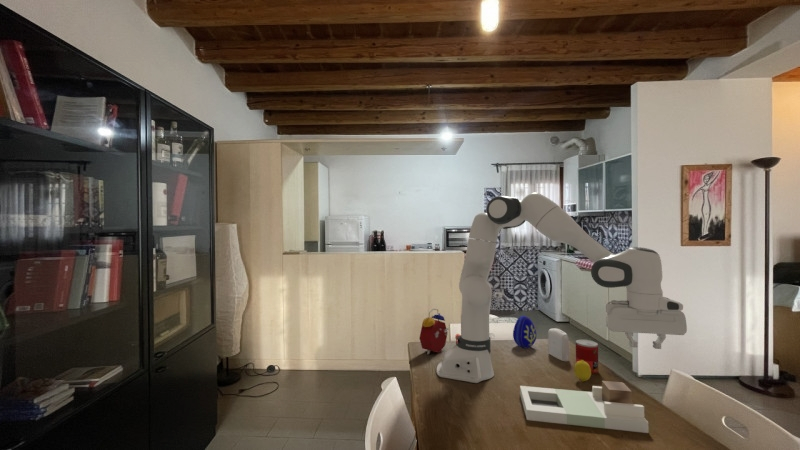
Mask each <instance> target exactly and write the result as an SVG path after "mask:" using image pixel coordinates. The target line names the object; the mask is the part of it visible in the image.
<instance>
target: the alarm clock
mask: <svg viewBox="0 0 800 450" xmlns="http://www.w3.org/2000/svg"><path fill="white" fill-rule="evenodd" d="M433 311H437V314H433V315H432V316H431V317H430V314H431V312H433ZM443 321H446V319H445V317H444V316H443V315H441V312H440V313H439V309H437V308H432V309H431V310H430V311H429V312H428V316H427V317H425V318H424V319H423V321H422V324H421V330H420V334H419V341H420V345H421V348H422V350H423V349H424V350H427V351H426V352H427V354H426V355H430V353H431V352H434V353H438V354H439V352H440V353H441V351H442V350H443V348H444V347H445V346H446V342H447V339H448V331H449V329H450V328H449V327H447V325H446V323H445V322H443Z"/></svg>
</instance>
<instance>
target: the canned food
mask: <svg viewBox="0 0 800 450" xmlns="http://www.w3.org/2000/svg"><path fill="white" fill-rule="evenodd" d="M581 360H583V361H585V362H586V363H588V364H589V366H590V369H591V375H592V374H597V373H598V372H599V344H598V342H596V341H593V340H590V339H577V340H575V364H576V363H577V362H578V361H581Z"/></svg>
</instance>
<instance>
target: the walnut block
mask: <svg viewBox="0 0 800 450" xmlns="http://www.w3.org/2000/svg"><path fill="white" fill-rule="evenodd" d="M601 387H602V400H603V402H615V403H626V404H633V391H632V390H631V389H630V388H629V387H628V386H627V385H626V383H624V382H620V381H608V380H601Z"/></svg>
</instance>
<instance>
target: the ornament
mask: <svg viewBox="0 0 800 450" xmlns="http://www.w3.org/2000/svg"><path fill="white" fill-rule="evenodd" d="M512 330H513V331H512V339H513V341H514V343H515V344H516V345H517V346H519V347H520V348H522V349H529V348H531V347H533V345H534V344H535V342H536V341H537V330H536V327H535V325H534V322H533V321H532V320H531V319H530V318H529V317H528V316H526V315H520V316H519V317H517V320H516V322H515V323H514V327H513V329H512Z"/></svg>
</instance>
